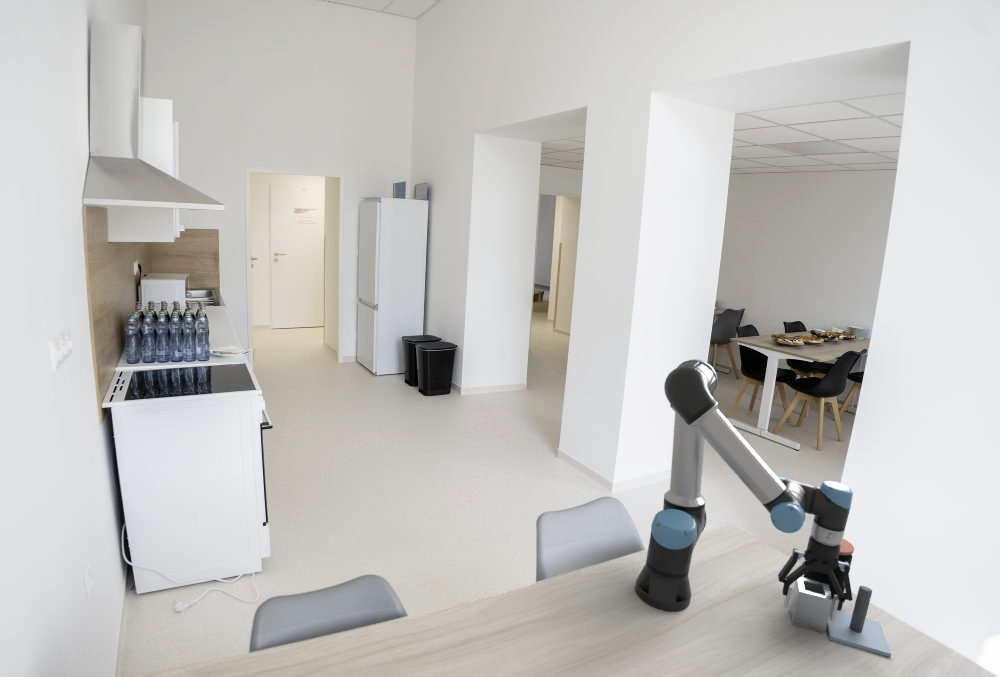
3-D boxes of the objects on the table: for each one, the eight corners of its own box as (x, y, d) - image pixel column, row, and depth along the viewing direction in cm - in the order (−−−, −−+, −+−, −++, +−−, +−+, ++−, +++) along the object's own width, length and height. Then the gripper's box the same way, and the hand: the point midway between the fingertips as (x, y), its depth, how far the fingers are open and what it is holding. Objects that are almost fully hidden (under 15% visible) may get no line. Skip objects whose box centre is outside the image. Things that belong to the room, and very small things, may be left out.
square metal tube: (791, 624, 168) (799, 591, 166) (789, 607, 175) (796, 575, 173) (824, 633, 165) (832, 600, 163) (820, 616, 173) (828, 584, 171)
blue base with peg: (829, 639, 163) (840, 595, 161) (822, 609, 176) (832, 568, 173) (890, 657, 159) (902, 612, 156) (878, 625, 172) (889, 583, 169)
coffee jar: (845, 613, 176) (860, 555, 172) (805, 604, 178) (819, 547, 174) (833, 591, 186) (847, 536, 182) (796, 583, 188) (808, 529, 184)
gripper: (779, 533, 166) (763, 606, 170) (877, 558, 158) (858, 634, 163) (777, 521, 172) (762, 592, 177) (871, 544, 165) (853, 617, 170)
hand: (808, 612), depth 170 cm, fingers open, 11 cm apart
